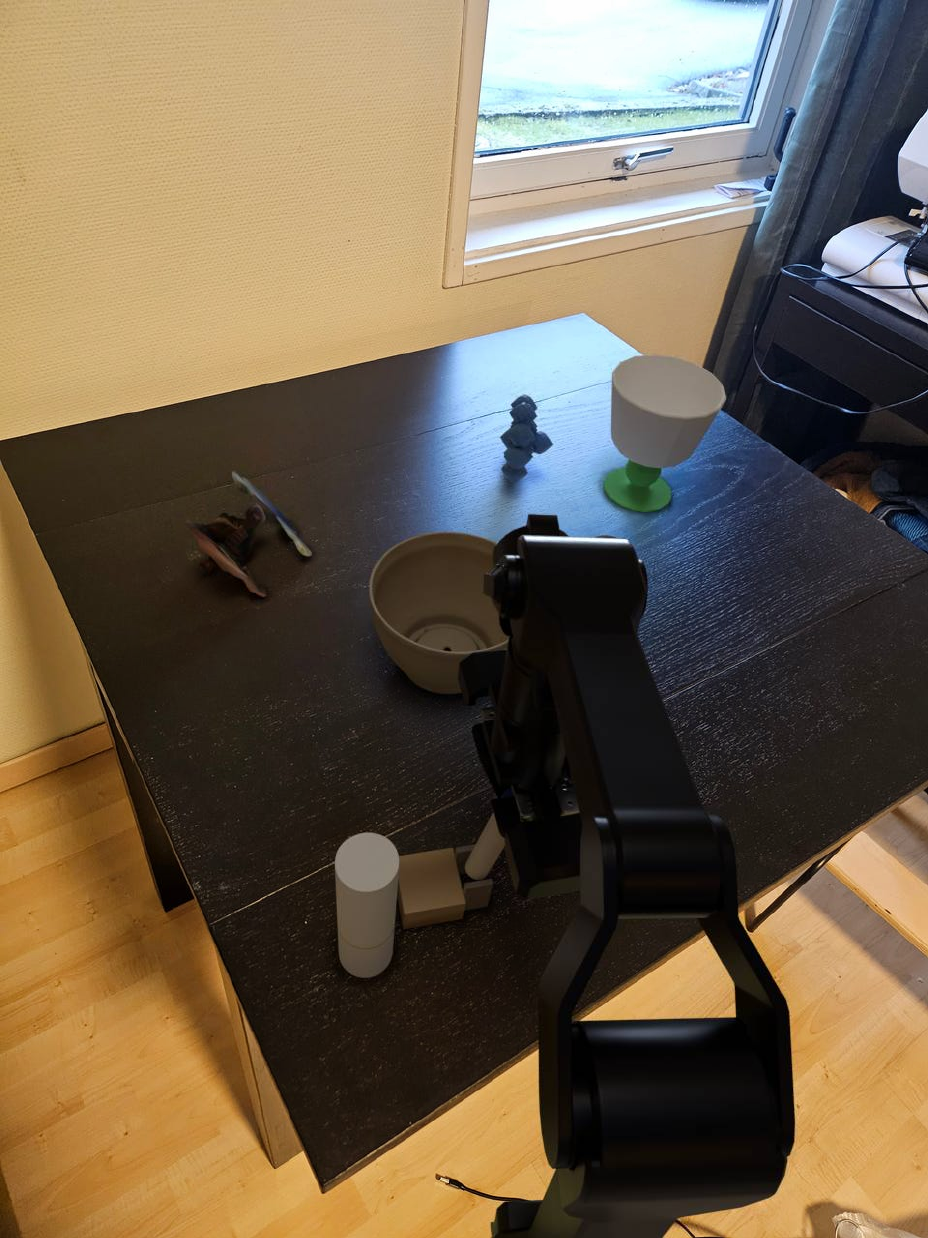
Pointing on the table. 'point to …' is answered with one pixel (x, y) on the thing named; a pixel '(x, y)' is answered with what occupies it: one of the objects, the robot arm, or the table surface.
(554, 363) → the table surface
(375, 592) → the planter bowl
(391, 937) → the tube
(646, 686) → the robot arm
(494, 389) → the table surface
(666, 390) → the cup
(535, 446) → the grapes
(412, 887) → the tan block with prongs
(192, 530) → the figurine
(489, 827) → the marker
